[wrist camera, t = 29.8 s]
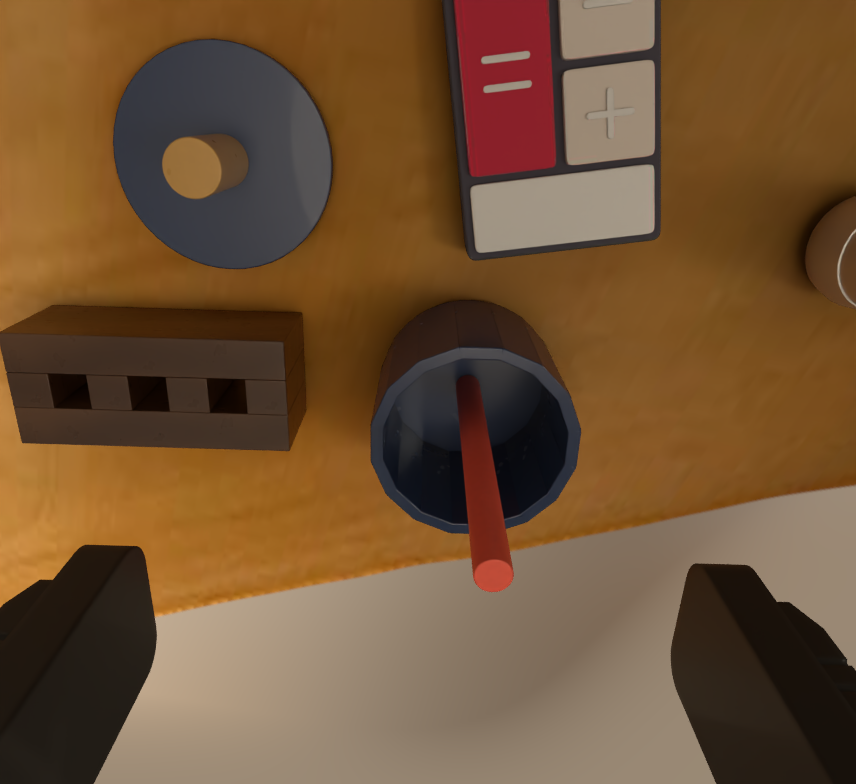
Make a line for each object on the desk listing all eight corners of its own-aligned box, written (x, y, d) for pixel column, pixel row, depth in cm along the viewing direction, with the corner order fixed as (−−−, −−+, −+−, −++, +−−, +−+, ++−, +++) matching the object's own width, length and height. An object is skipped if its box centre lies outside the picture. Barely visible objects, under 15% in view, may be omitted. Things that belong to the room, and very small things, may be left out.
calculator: (666, -74, 32) (665, 241, 37) (640, -49, 36) (643, 233, 41) (439, -43, 33) (468, 264, 38) (439, -22, 37) (465, 253, 42)
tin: (382, 297, 43) (370, 343, 34) (559, 302, 43) (592, 350, 34) (381, 454, 47) (370, 531, 39) (542, 458, 48) (567, 537, 39)
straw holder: (52, 304, 43) (-4, 332, 38) (302, 312, 43) (283, 341, 38) (70, 403, 46) (21, 443, 40) (306, 410, 46) (289, 451, 41)
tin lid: (106, 37, 37) (42, 22, 31) (331, 44, 37) (312, 31, 31) (137, 262, 42) (86, 287, 36) (336, 268, 42) (320, 294, 36)
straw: (456, 374, 45) (474, 558, 26) (480, 375, 45) (515, 560, 26) (455, 396, 45) (472, 592, 27) (478, 397, 45) (512, 593, 27)
